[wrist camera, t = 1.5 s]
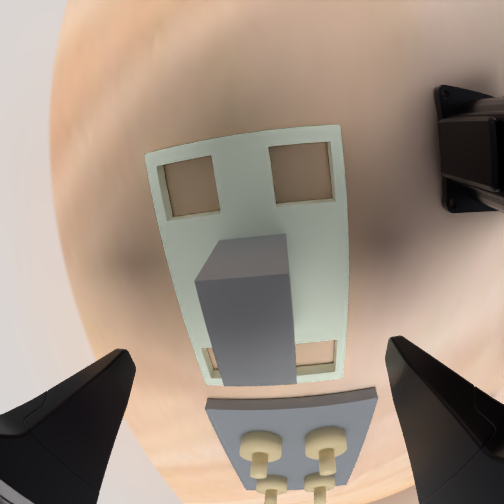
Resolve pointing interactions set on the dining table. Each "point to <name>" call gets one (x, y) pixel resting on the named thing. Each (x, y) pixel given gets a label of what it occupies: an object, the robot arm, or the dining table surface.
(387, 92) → the dining table surface
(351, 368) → the dining table surface
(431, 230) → the dining table surface
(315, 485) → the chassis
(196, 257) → the board
